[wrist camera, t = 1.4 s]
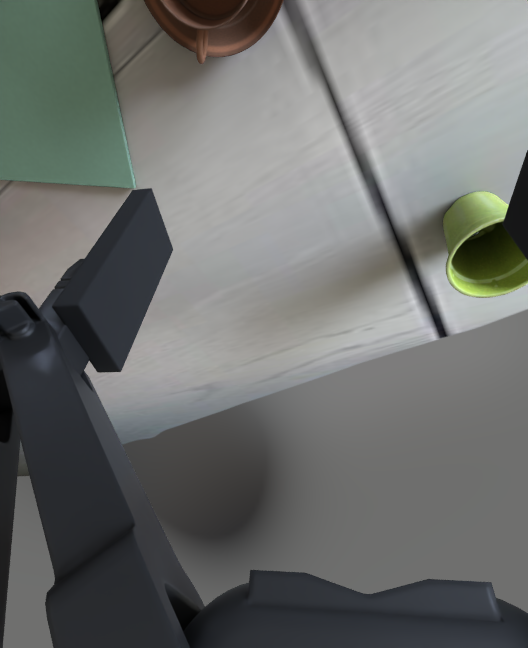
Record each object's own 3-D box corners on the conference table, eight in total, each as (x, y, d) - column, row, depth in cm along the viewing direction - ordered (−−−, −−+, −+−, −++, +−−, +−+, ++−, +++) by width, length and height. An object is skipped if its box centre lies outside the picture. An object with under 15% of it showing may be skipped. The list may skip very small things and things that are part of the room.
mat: (-111, -57, 30) (-117, -57, 30) (87, -47, 30) (84, -47, 29) (-2, 177, 44) (-5, 179, 43) (136, 186, 43) (134, 188, 43)
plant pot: (431, 261, 47) (451, 307, 41) (420, 194, 42) (441, 237, 35) (516, 237, 44) (551, 283, 38) (517, 161, 38) (559, 201, 32)
